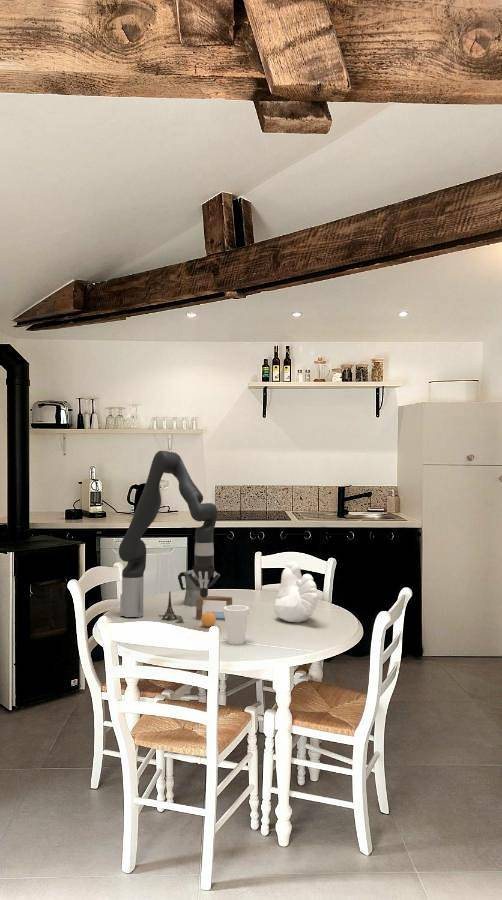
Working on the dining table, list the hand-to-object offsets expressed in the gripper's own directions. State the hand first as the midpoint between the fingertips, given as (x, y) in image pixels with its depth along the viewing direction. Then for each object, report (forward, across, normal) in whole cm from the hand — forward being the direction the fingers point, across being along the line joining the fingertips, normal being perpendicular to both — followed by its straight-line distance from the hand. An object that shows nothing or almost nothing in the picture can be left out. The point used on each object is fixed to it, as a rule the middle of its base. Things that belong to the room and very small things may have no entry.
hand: (204, 597), depth 285 cm
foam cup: (+14, +15, -12) cm, 24 cm away
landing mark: (+14, 0, +30) cm, 33 cm away
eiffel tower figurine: (+14, -18, +19) cm, 30 cm away
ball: (+11, 0, +9) cm, 14 cm away
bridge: (+14, 0, +22) cm, 26 cm away
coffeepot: (+14, -16, +48) cm, 53 cm away
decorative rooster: (+14, +35, +23) cm, 44 cm away
